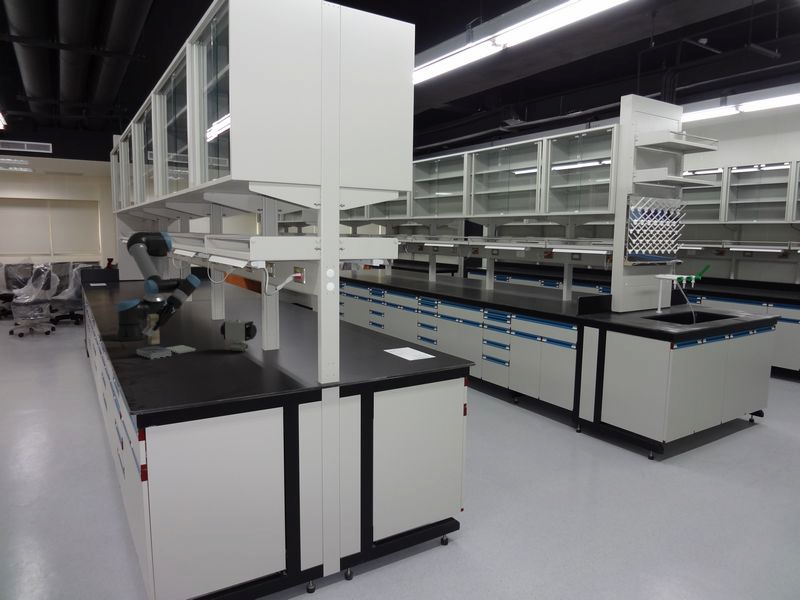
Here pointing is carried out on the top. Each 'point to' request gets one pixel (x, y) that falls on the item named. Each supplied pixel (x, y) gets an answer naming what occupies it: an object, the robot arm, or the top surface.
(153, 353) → the socket block
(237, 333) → the bench grinder
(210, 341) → the top surface
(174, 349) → the pad
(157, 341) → the peg
